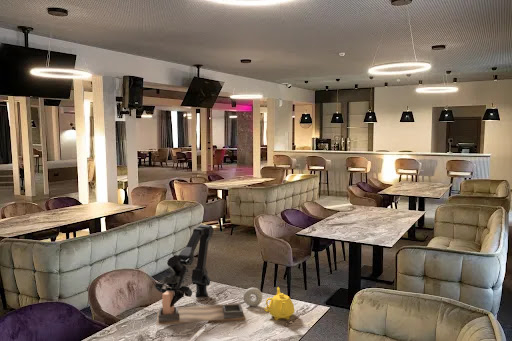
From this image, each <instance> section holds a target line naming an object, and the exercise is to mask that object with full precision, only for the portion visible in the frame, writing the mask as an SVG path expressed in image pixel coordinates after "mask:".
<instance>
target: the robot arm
mask: <svg viewBox="0 0 512 341" xmlns="http://www.w3.org/2000/svg"><path fill="white" fill-rule="evenodd" d="M214 231H215V230H214V228H213V225H210V224H200V225H199V226H196V227H193V230H192V234H191V235H190V238H189V240H188V242H187V244H186V245H185V248H184V249H182V250H181V251H180V252H179V254H173V256H171V257H169V259H168V260H167V262H166V263H167V266H168V267H169V268H170V270H171V271H172V272H173V274H171V275H170V276H167V275H165V276H164V279H163V282H160V281H159V282H156V283H155V284H154V289H155V290H156V291H158V292H159V293H162V294H163V293H165V292H166V291H170V292H174V297H173V299H172V302H171V305H170V307H172V306H173V305H174V306H175V304H176V303H177V302H178V301H180V300H181V299H182V298H184V297H192V295H193V291H192V289H191V288H190V287H189V286H183V284H184V283H185V281H184V280H185V276H186V274H187V273H189V269H188V266H191V265H192V264H193V262H194V258H195V252H196V249H197V246H198V244H199V246H198V252H197V254H198V255H197V262H196V267H195V268H193V269H192V271H191V272H192V273H191V277H190V279H191V282H192V285H195V287H196V288H195V289H196V290H195V298H198V297H200V298H202V297H208V296H209V295H208V290H207V288H208V287H207V286H209V285H211V278H210V277H209V275H208V273H209V272H208V269H207V268H206V267H207V266H206V264H207V256H208V248H209V242H210V240H211V239H212V237H213V234H214ZM161 304H162V306H163V302H162V303H161Z"/></svg>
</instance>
